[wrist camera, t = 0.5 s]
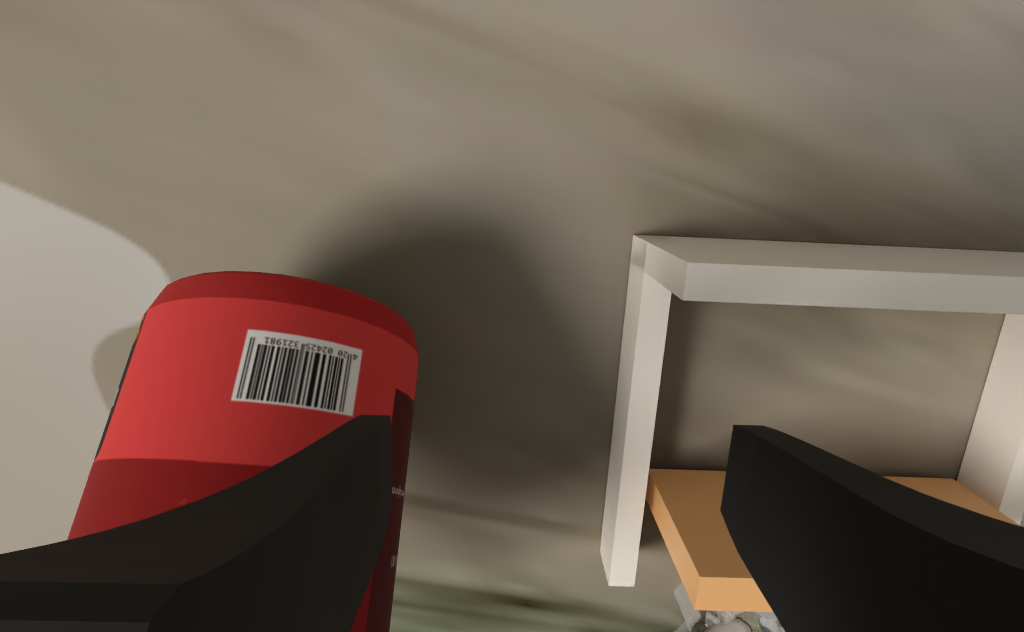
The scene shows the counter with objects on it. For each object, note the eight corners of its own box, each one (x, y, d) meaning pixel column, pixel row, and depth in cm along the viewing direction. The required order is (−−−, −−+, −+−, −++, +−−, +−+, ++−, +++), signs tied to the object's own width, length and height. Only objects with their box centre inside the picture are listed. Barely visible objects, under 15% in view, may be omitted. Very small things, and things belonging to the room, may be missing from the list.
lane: (955, 560, 24) (1102, 688, 18) (600, 551, 23) (632, 678, 17) (1050, 253, 20) (1271, 288, 14) (633, 234, 20) (687, 262, 14)
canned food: (82, 274, 15) (-116, 785, 10) (352, 253, 13) (244, 857, 9) (262, 361, 22) (186, 690, 17) (454, 355, 20) (421, 720, 16)
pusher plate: (945, 504, 23) (1097, 620, 17) (644, 494, 22) (694, 610, 16) (952, 478, 22) (1110, 588, 16) (647, 468, 22) (699, 576, 16)
